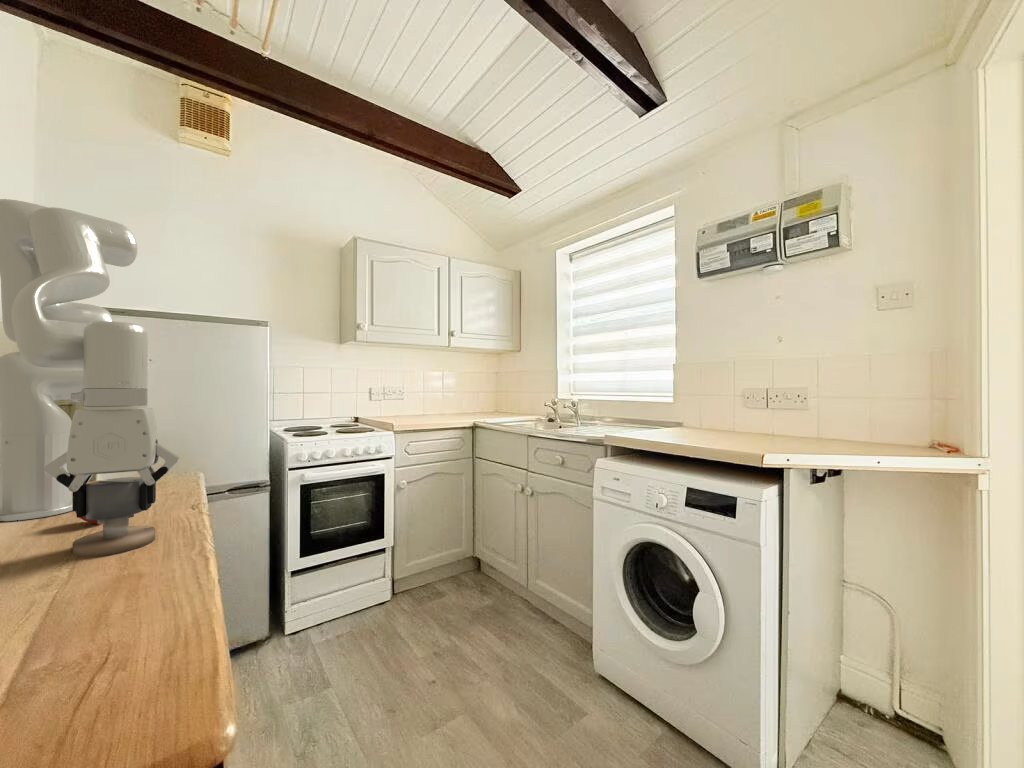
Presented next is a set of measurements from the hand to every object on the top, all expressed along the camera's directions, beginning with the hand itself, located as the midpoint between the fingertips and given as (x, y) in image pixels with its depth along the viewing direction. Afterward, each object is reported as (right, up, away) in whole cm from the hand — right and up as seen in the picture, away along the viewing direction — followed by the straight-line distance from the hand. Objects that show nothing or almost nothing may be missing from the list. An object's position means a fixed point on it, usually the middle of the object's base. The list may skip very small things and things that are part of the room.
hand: (115, 510), depth 67 cm
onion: (-13, -6, +10) cm, 17 cm away
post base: (0, -6, 0) cm, 6 cm away
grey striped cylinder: (0, 0, +1) cm, 1 cm away
